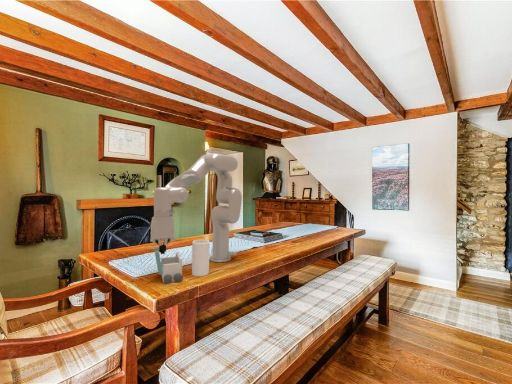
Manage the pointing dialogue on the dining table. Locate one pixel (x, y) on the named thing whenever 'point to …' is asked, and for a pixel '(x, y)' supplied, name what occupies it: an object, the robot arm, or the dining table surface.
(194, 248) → the cup
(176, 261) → the cart
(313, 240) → the dining table surface
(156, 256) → the tailgate
